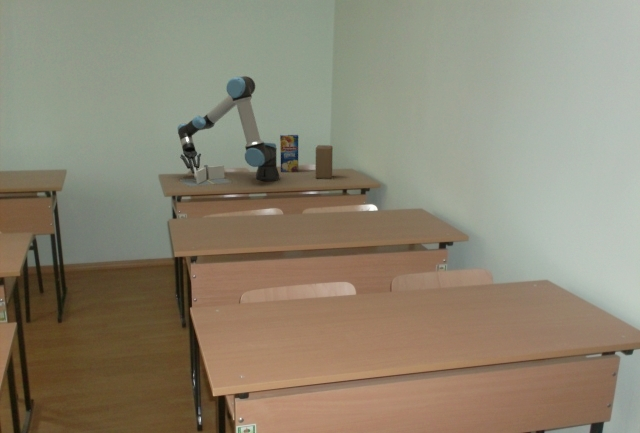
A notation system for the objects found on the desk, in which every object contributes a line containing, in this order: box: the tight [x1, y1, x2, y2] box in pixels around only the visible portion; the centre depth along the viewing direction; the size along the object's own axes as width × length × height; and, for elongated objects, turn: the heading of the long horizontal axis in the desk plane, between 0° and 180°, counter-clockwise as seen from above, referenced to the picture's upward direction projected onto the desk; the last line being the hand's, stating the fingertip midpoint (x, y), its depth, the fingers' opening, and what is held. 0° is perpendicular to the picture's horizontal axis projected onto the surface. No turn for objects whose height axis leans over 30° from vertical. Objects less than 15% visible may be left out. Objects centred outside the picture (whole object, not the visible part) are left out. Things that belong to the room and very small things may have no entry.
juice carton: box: [279, 134, 299, 173], centre depth 420 cm, size 12×8×24 cm, turn 94°
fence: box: [203, 164, 225, 180], centre depth 391 cm, size 12×2×9 cm, turn 117°
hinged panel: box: [196, 167, 206, 184], centre depth 381 cm, size 13×1×8 cm, turn 169°
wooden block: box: [315, 144, 333, 180], centre depth 400 cm, size 10×10×20 cm
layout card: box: [179, 177, 233, 187], centre depth 386 cm, size 27×22×1 cm
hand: (196, 177), depth 379 cm, fingers closed
